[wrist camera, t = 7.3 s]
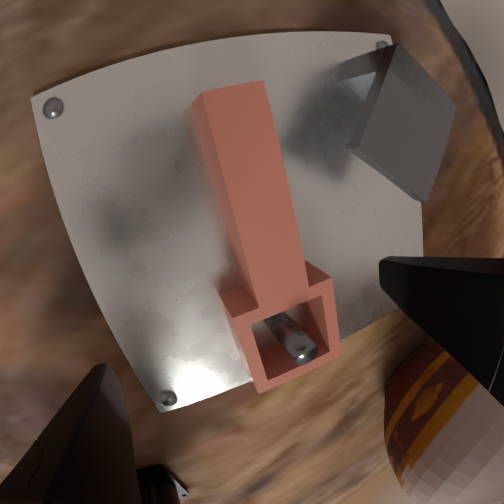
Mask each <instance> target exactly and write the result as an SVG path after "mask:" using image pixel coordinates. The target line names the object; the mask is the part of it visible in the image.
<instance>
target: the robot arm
mask: <svg viewBox="0 0 504 504" xmlns="http://www.w3.org/2000/svg"><path fill="white" fill-rule="evenodd" d="M378 267H379V283H380V286H381V288H382V289H383V291H384V292H385V293H386V294H387V295H388V296H389V297H390V298H391V299H392V300H393V301H394V302H395V303H396V304H397V306H398V307H399V308H400V309H401V310H402V311H403V312H404V313H405V314H406V315H407V316H408V317H409V318H410V319H411V320H412V321H413V322H414V323H415V324H417V325H418V326H419V327H420V328H421V329H422V330H423V331H424V332H425V333H427V334H428V335H429V336H430V337H431V338H432V339H433V340H434V341H435V342H436V343H438V344H439V345H440V346H441V347H442V348H443V349H444V350H445V351H446V352H447V353H448V354H449V355H451V356H452V357H453V358H454V359H455V360H456V361H457V362H458V363H459V364H460V365H461V366H462V367H463V368H464V369H465V370H467V371H468V372H469V373H470V374H471V375H472V376H473V377H474V378H475V379H476V380H477V381H478V382H479V383H480V384H481V385H482V386H483V387H484V388H485V389H486V390H487V391H488V392H489V393H490V394H491V395H492V396H493V397H494V398H495V399H496V400H497V401H498V402H499V403H500V404H501V405H502V406H503V407H504V258H457V257H412V256H388V257H385V258H383V259H381V260H380V261H379V264H378ZM188 496H189V492H188V490H187V489H186V488H185V487H184V486H183V485H182V484H181V483H180V482H179V481H178V480H177V479H176V478H175V477H174V476H173V475H172V474H171V473H170V472H169V471H168V470H167V468H166V467H165V466H163V465H156V466H152V467H148V468H144V469H140V470H136V466H135V459H134V451H133V442H132V434H131V428H130V423H129V419H128V414H127V409H126V404H125V399H124V394H123V389H122V386H121V384H120V382H119V380H118V379H117V377H116V375H115V374H114V372H113V370H112V368H111V367H110V365H109V364H108V363H102V364H98V365H95V366H94V367H93V368H92V369H91V371H90V372H89V373H88V374H87V375H86V377H85V378H84V379H83V380H82V382H81V383H80V384H79V385H78V387H77V388H76V389H75V390H74V392H73V393H72V394H71V395H70V397H69V398H68V399H67V400H66V402H65V403H64V404H63V405H62V407H61V408H60V409H59V411H58V412H57V413H56V414H55V416H54V417H53V418H52V420H51V421H50V422H49V423H48V425H47V426H46V427H45V429H44V430H43V431H42V433H41V434H40V435H39V437H38V438H37V440H35V442H34V443H33V445H32V446H31V447H30V449H29V450H28V451H27V452H26V454H25V455H24V456H23V458H22V459H21V460H20V461H19V463H18V464H17V465H16V466H15V467H14V469H13V470H12V471H11V472H10V473H9V474H8V476H7V477H6V478H5V479H4V480H3V481H2V483H1V484H0V504H180V500H179V499H181V498H185V497H188ZM503 504H504V503H503Z"/></svg>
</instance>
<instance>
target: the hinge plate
mask: <svg viewBox="0 0 504 504" xmlns="http://www.w3.org/2000/svg"><path fill="white" fill-rule="evenodd" d="M390 45H393V43H392V40H391V36H390V35H386V34H375V33H361V32H335V31H309V32H283V33H269V34H258V35H248V36H239V37H232V38H225V39H218V40H212V41H206V42H200V43H195V44H190V45H185V46H180V47H176V48H171V49H167V50H163V51H159V52H155V53H151V54H147V55H143V56H140V57H136V58H133V59H129V60H126V61H123V62H120V63H116V64H113V65H110V66H107V67H104V68H101V69H98V70H96V71H93V72H90V73H87V74H85V75H82V76H80V77H77V78H74V79H72V80H70V81H67V82H65V83H62V84H60V85H58V86H55V87H53V88H51V89H49V90H46V91H44V92H42V93H40V94H38V95H36V96H34V97H32V98H31V103H32V108H33V113H34V118H35V123H36V128H37V132H38V137H39V141H40V145H41V149H42V153H43V157H44V160H45V164H46V168H47V171H48V175H49V178H50V182H51V185H52V188H53V191H54V195H55V198H56V201H57V204H58V207H59V210H60V213H61V216H62V218H63V221H64V224H65V227H66V230H67V232H68V235H69V238H70V240H71V243H72V245H73V248H74V250H75V253H76V255H77V258H78V260H79V263H80V265H81V268H82V270H83V272H84V275H85V277H86V279H87V281H88V284H89V286H90V288H91V290H92V292H93V295H94V297H95V299H96V301H97V303H98V305H99V307H100V309H101V311H102V313H103V315H104V317H105V319H106V321H107V323H108V325H109V327H110V329H111V331H112V333H113V335H114V337H115V339H116V341H117V342H118V344H119V346H120V348H121V350H122V352H123V353H124V355H125V357H126V359H127V360H128V362H129V364H130V366H131V367H132V369H133V371H134V372H135V374H136V376H137V378H138V379H139V381H140V382H141V384H142V386H143V387H144V389H145V391H146V392H147V394H148V395H149V397H150V398H151V400H152V402H153V403H154V405H155V406H156V408H157V409H158V411H159V412H160V414H161V413H164V412H167V411H170V410H173V409H176V408H179V407H182V406H185V405H188V404H191V403H194V402H197V401H200V400H203V399H205V398H208V397H211V396H214V395H216V394H219V393H222V392H224V391H227V390H230V389H232V388H235V387H237V386H240V385H242V384H245V383H247V382H250V381H251V379H250V377H249V376H248V374H247V372H246V370H245V368H244V366H243V363H242V360H241V358H240V355H239V352H238V349H237V346H236V343H235V341H234V338H233V335H232V332H231V329H230V326H229V323H228V320H227V317H226V315H225V312H224V309H223V306H222V303H221V300H220V297H219V295H221V294H223V293H226V292H229V291H231V290H234V289H237V288H239V287H242V284H241V281H240V277H239V274H238V271H237V267H236V264H235V260H234V257H233V253H232V250H231V246H230V243H229V239H228V236H227V232H226V228H225V225H224V221H223V218H222V214H221V211H220V207H219V204H218V200H217V196H216V193H215V189H214V185H213V182H212V178H211V174H210V171H209V167H208V163H207V160H206V156H205V152H204V149H203V145H202V141H201V138H200V134H199V130H198V126H197V122H196V119H195V115H194V111H193V107H192V102H193V101H194V100H195V99H196V98H197V96H198V95H199V94H200V93H201V92H204V91H209V90H213V89H218V88H223V87H227V86H233V85H238V84H243V83H249V82H255V81H261V80H263V81H264V85H265V89H266V92H267V96H268V100H269V104H270V108H271V112H272V116H273V120H274V124H275V128H276V132H277V136H278V141H279V145H280V149H281V153H282V158H283V162H284V166H285V171H286V175H287V180H288V184H289V189H290V194H291V198H292V203H293V208H294V212H295V217H296V222H297V227H298V232H299V237H300V242H301V247H302V252H303V257H304V262H306V261H307V262H309V263H311V264H312V265H314V266H315V267H317V268H318V269H320V270H321V271H323V272H324V273H326V274H327V275H329V276H331V277H332V282H333V289H334V297H335V304H336V312H337V321H338V329H339V338H340V340H341V339H343V338H345V337H347V336H349V335H351V334H353V333H355V332H357V331H359V330H361V329H362V328H364V327H366V326H368V325H370V324H372V323H373V322H375V321H377V320H379V319H381V318H382V317H384V316H386V315H388V314H389V313H391V312H393V311H395V310H396V309H398V308H399V307H398V306H397V304H396V303H395V302H394V301H393V300H392V299H391V298H390V297H389V296H388V295H387V294H386V293H385V292H384V291H383V289H382V288H381V286H380V283H379V267H378V264H379V261H380V260H381V259H383V258H385V257H388V256H412V257H423V230H422V211H421V202H420V201H416V200H414V199H413V198H411V197H410V196H409V195H408V194H406V193H405V192H404V191H402V190H401V189H400V188H399V187H397V186H396V185H395V184H393V183H392V182H391V181H390V180H388V179H387V178H386V177H384V176H383V175H382V174H380V173H379V172H378V171H376V170H375V169H373V168H372V167H371V166H369V165H368V164H367V163H365V162H364V161H362V160H361V159H359V158H358V157H357V156H355V155H354V154H352V153H351V152H349V151H348V150H346V149H345V148H346V145H347V143H348V141H349V138H350V136H351V133H352V131H353V129H354V126H355V124H356V121H357V119H358V116H359V114H360V112H361V109H362V107H363V104H364V103H363V102H361V101H360V100H359V99H357V98H356V97H355V96H353V95H352V94H351V93H349V92H348V91H347V90H345V89H344V88H343V87H341V86H340V85H338V84H337V83H336V82H337V79H338V77H339V75H340V73H341V70H342V68H343V66H344V64H345V61H346V60H348V59H351V58H354V57H356V56H359V55H362V54H365V53H368V52H371V51H374V50H377V49H380V48H383V47H387V46H390ZM285 312H286V313H287V314H288V315H289V316H290V317H291V319H292V320H293V321H294V322H295V323H296V324H297V325H298V326H299V327H300V328H301V329H302V330H303V331H304V332H305V331H307V330H308V324H307V319H306V313H305V308H304V303H302V304H299V305H297V306H295V307H292V308H290V309H288V310H285ZM251 328H252V332H253V335H254V338H255V341H256V345H257V348H258V351H262V350H264V349H267V348H269V347H271V346H274V345H276V344H278V343H280V342H279V341H278V339H277V338H276V337H275V336H274V334H273V333H272V332H271V330H270V329H269V328H268V327H267V325H266V324H265V322H264V320H261V321H259V322H256V323H254V324H251Z"/></svg>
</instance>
